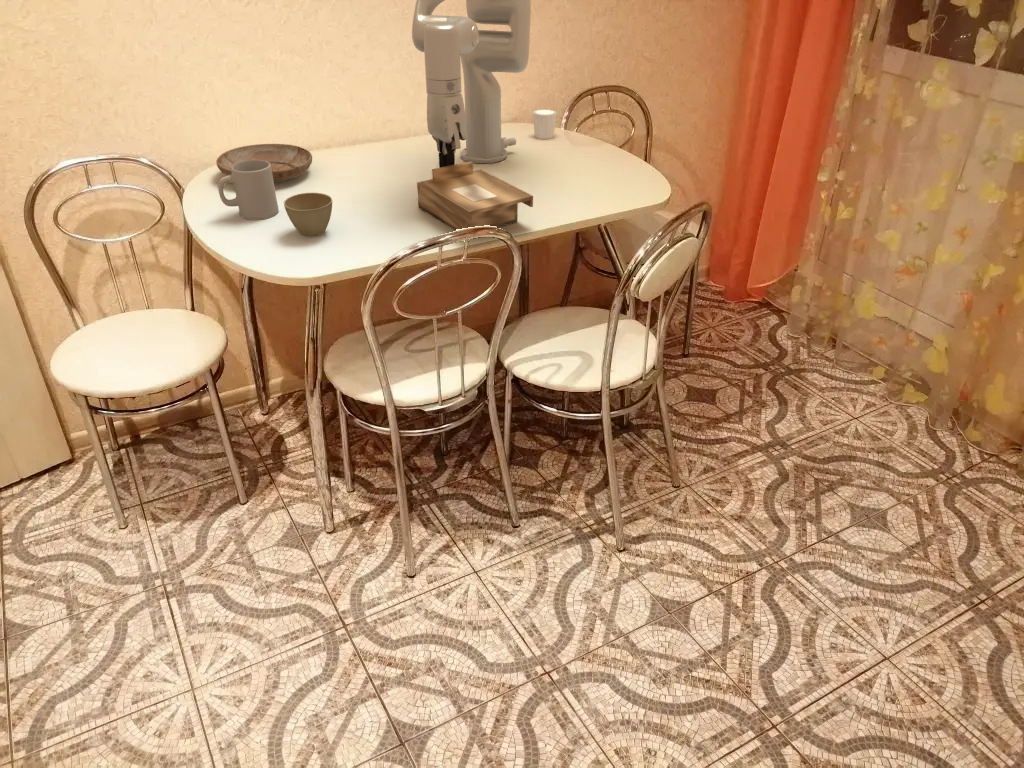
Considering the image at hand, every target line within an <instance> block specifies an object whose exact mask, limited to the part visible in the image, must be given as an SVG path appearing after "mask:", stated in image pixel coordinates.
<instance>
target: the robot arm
mask: <svg viewBox="0 0 1024 768" xmlns="http://www.w3.org/2000/svg"><path fill="white" fill-rule="evenodd" d="M444 1H446V0H416V1H415V6H414V13H413V17H412V26H411V38H412V43H413V45H414V47H415V48H416V50H417V51H420V52H422V53H424V54H423V55H424V70H425V71H424V72H425V88H426V95H427V96H426V123H427V124H426V125H427V131H428V133H429V134H430V135H431V137H432V139H433V140H434V141H435V143H436V148H437V150H436V151H437V152H438V168H440V167H445V166H450V165H454V164H456V163H455V160H456V159H455V158H456V157H455V156H456V155H455V153H456V150H458V149H461V148H462V147H461V141H465V148H463V149H462V150H461V151H460V158H461V160H463V161H465V162H469V161H471V162H473V164H491V163H492V164H493V163H498V162H500V161H501V162H502V161H504V160H505V159H507V157H508V152H507V150H506V148H507V147H513V146H515V145H517V139H516V138H515V137H512V138H507V137H502V89H501V86H500V83H499V81H498V80H497V78H496V76H495V75H494V73H508V74H509V73H511V74H512V73H513V74H517V73H522V72H524V71H525V69H526V68H527V67H528V65H529V64H528V63H529V56H530V55H529V54H530V38H531V37H530V36H531V12H532V11H531V5H532V4H531V2H532V1H531V0H466V1H465V2H466V3H465V5H466V8H465V9H466V15H467V16H453V15H452V16H450V15H438V14H434V15H433V12H434V11H435V9H436V8H437V7H438V6H439V5H440V4H441V3H443V2H444ZM477 24H479V25H492V26H493V25H494V26H495V25H496V26H509V28H510V30H511V31H510V30H509V31H507V30H505V31H504V30H488V29H487V30H486V29H478V26H477ZM461 67H462V70H461ZM462 73H463V86H464V91H463V92H464V98H463V94H462Z"/></svg>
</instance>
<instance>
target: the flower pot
mask: <svg viewBox="0 0 1024 768" xmlns="http://www.w3.org/2000/svg"><path fill="white" fill-rule="evenodd" d="M283 207H284V210H285V212H286V215H287V217H288V219H289V221H290V222H291V224H292V225H293V226H294V228H295V229H296V230H297V232H298V233H299V234H300V235H301V236H303V237H306V238H317V237H319V236H322V235H324V234H325V232H326V230H327V228H328V225H329V223H330V220H331V216H332V210H333V198H332V197H331V196H330V195H329V194H326V193H321V192H304V193H303V192H302V193H297V194H293V195H291V196H289V197H287V198H286V199H285V200H284V201H283Z"/></svg>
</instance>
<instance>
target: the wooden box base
mask: <svg viewBox="0 0 1024 768" xmlns="http://www.w3.org/2000/svg"><path fill="white" fill-rule="evenodd" d="M430 180H433V179H432V178H431V179H427V180H422V181H421V180H420V181H417V182H416V189H417V203H418V204H417V206H418V208H419V209H420V210H422V211H423V212H425V213H426V214H428V215H430V216H432V217H433V218H434V219H436V220H437V221H439V222H441V223H442V224H444V225H445V226H447V227H449V228H450V229H452V230H453V231H455V230H456V229H462V228H468V227H475V226H484V225H490V226H497V228H500V227H503V226H507V225H511V224H515V223H518V215H519V214H518V210H519V209H518V208H519V203H517V204H513V205H509V206H505V207H501V208H497V209H493V210H489V211H485V212H481V213H477V214H473V215H472V222H471V223H469V222H467V221H466V220H464V219H462V218H461V217H459V216H457V215H456V214H454V213H452V212H451V211H449V210H447V209H446V208H444V207H442V206H441V205H439V204H437V203H436V202H434V201H432V200H431V199H429V198H427V197H426V196H424V195H422V194H421V193H420V183H421V182H425V181H430Z"/></svg>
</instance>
